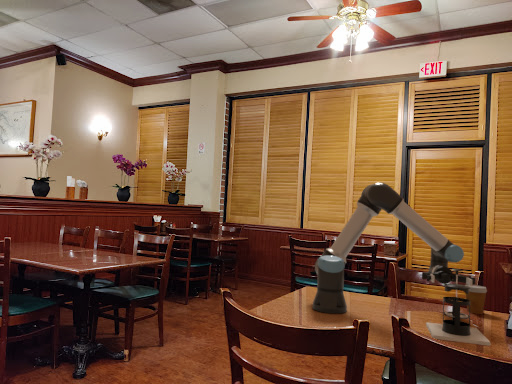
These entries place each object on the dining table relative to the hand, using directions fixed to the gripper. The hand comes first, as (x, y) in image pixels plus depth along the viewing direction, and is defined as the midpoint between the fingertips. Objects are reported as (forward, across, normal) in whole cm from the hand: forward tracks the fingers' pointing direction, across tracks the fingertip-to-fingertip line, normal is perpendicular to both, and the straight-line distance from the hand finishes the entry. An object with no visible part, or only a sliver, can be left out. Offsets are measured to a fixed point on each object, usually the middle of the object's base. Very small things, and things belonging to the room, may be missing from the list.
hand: (452, 281), depth 153 cm
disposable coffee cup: (-35, -17, -18) cm, 43 cm away
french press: (+10, 0, -17) cm, 20 cm away
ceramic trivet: (+10, 0, -18) cm, 21 cm away
